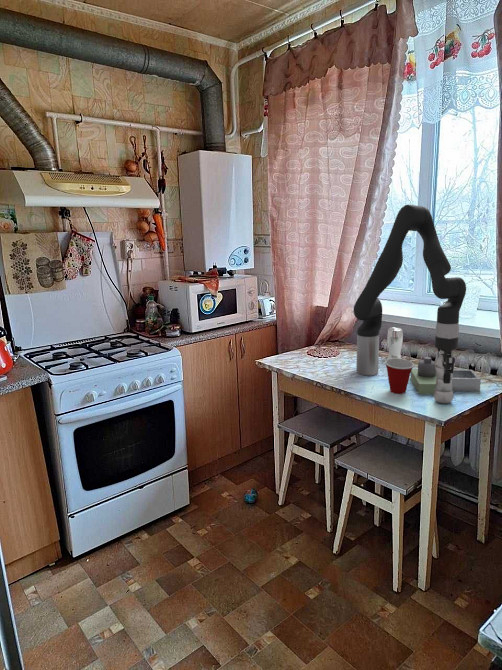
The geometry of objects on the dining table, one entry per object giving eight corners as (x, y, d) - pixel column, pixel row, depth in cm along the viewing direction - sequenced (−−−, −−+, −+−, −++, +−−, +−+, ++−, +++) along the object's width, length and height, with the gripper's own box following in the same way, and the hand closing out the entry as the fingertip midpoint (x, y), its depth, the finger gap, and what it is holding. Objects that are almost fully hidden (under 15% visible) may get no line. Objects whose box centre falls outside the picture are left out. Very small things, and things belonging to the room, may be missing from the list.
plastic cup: (403, 398, 172) (404, 368, 169) (378, 391, 180) (379, 362, 177) (418, 390, 179) (419, 361, 176) (393, 384, 187) (394, 356, 184)
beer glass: (403, 358, 219) (404, 328, 216) (399, 362, 214) (400, 331, 210) (389, 356, 223) (389, 326, 219) (384, 360, 217) (385, 330, 214)
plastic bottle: (454, 406, 163) (458, 352, 158) (434, 405, 165) (437, 351, 160) (450, 399, 169) (454, 347, 165) (431, 398, 171) (434, 346, 166)
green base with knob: (418, 393, 176) (419, 366, 173) (410, 378, 193) (411, 352, 190) (451, 394, 174) (453, 366, 171) (440, 378, 191) (441, 352, 188)
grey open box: (449, 390, 177) (450, 378, 176) (442, 381, 188) (443, 369, 186) (479, 391, 175) (480, 378, 174) (471, 381, 186) (472, 369, 185)
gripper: (431, 330, 168) (429, 373, 172) (440, 340, 155) (437, 386, 159) (452, 329, 167) (450, 373, 171) (464, 339, 153) (460, 387, 157)
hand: (444, 379), depth 165 cm, fingers closed on plastic bottle, 6 cm apart
